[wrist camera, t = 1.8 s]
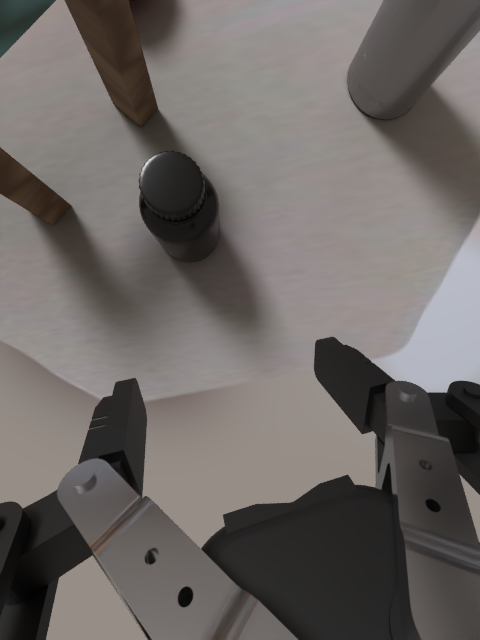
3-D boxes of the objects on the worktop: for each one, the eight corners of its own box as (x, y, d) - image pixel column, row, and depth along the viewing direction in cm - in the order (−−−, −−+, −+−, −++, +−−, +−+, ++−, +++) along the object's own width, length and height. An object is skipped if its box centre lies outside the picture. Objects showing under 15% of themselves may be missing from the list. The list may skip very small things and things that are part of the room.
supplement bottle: (176, 194, 32) (152, 117, 20) (229, 223, 32) (236, 164, 21) (148, 246, 32) (106, 199, 20) (201, 274, 32) (192, 245, 20)
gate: (130, 85, 32) (43, -157, 16) (158, 108, 32) (99, -107, 16) (23, 202, 31) (-186, 68, 15) (53, 225, 31) (-123, 119, 15)
